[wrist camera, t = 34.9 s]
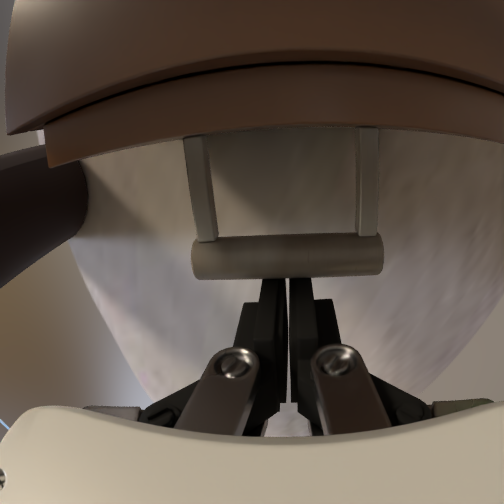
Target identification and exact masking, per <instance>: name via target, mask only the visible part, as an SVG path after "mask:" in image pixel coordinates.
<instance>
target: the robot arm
mask: <svg viewBox="0 0 504 504" xmlns="http://www.w3.org/2000/svg"><path fill="white" fill-rule="evenodd" d="M289 351H290V378H291V403H297V402H298V412H299V413H300V414H301V415H303V416H304V417H305V418H307V419H308V428H309V433H310V436H308V437H264V435H265V432H266V428H267V425H268V419H269V418H270V417H271V416H273V415H274V414H276V413H277V412H280V403H286V394H287V367H288V315H287V298H286V281H285V278H284V279H262V286H261V292H260V298H259V302H249V303H244V304H243V308H242V312H241V316H240V320H239V324H238V328H237V332H236V336H235V340H234V345H233V347H231V348H226V349H224V350H221V351H219V352H218V353H216V354H215V355H214V356H213V357H212V358H211V360H210V361H209V363H208V365H207V367H206V369H205V371H204V373H203V374H202V376H201V378H200V380H198V381H196V382H194V383H192V384H190V385H188V386H187V387H185V388H183V389H181V390H179V391H177V392H175V393H173V394H171V395H169V396H167V397H165V398H163V399H161V400H159V401H157V402H155V403H153V404H152V405H150V406H149V407H147V408H146V409H145V410H141V408H140V407H111V406H87V407H84V408H82V409H81V408H75V407H67V406H42V407H36V408H32V409H30V410H28V411H26V412H25V413H23V414H22V415H21V416H20V417H19V418H18V420H17V421H16V422H15V423H14V424H13V425H12V427H11V428H10V429H9V431H8V432H7V433H6V435H5V437H4V438H3V439H2V441H1V443H0V504H504V401H499V402H494V401H492V400H490V399H484V398H480V399H469V400H455V401H434V402H433V403H432V405H426V403H424V402H423V401H421V400H420V399H418V398H416V397H414V396H412V395H410V394H408V393H406V392H404V391H402V390H400V389H398V388H397V387H395V386H393V385H391V384H389V383H387V382H385V381H383V380H381V379H379V378H377V377H376V376H374V375H372V374H370V373H369V372H368V370H367V368H366V365H365V363H364V361H363V359H362V357H361V355H360V354H359V352H358V351H357V350H355V349H354V348H353V347H351V346H348V345H345V344H341V339H340V334H339V329H338V324H337V319H336V314H335V310H334V305H333V301H332V299H319V300H314V297H313V289H312V282H311V278H289Z"/></svg>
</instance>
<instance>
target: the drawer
mask: <svg viewBox="0 0 504 504" xmlns="http://www.w3.org/2000/svg"><path fill="white" fill-rule="evenodd" d="M403 69H405V68H404V67H398V66H390V65H382V64H373V63H361V62H349V63H348V64H282V65H267V66H255V67H246V68H237V69H230V70H223V71H216V72H210V73H204V74H199V75H194V74H192V73H190V74H185V75H180V76H176V77H172V78H167V79H163V80H159V81H156V82H152V83H148V85H151V86H147V87H143V88H140V89H136V90H133V91H130V92H127V93H123V94H120V95H117V96H114V97H111V98H108V99H106V100H103V101H100V102H97V103H95V104H92V105H89V106H87V107H84V108H82V109H79V110H77V111H74V112H72V113H70V114H67V115H65V116H63V117H61V118H58V119H56V120H54V121H52V122H50V123H48V124H46V125H44V137H45V145H46V153H47V160H48V166H49V168H54V167H57V166H61V165H64V164H68V163H71V162H75V161H78V160H82V159H86V158H90V157H94V156H98V155H102V154H106V153H111V152H115V151H120V150H124V149H129V148H134V147H139V146H145V145H150V144H156V143H162V142H167V141H173V140H179V139H183V144H184V152H185V160H186V168H187V175H188V182H189V189H190V196H191V203H192V210H193V216H194V222H195V229H196V235H197V239H195V241H194V242H193V245H192V250H191V265H192V270H193V273H194V276H195V277H196V278H197V279H199V280H234V279H284V278H318V277H344V276H367V275H378V274H380V273H381V271H382V268H383V263H384V247H383V242H382V238H381V236H380V234H379V233H378V232H377V219H378V197H379V138H378V128H379V129H394V130H407V131H420V132H431V133H440V134H448V135H456V136H463V137H469V138H476V139H481V140H487V141H492V142H497V143H502V144H504V95H502V94H499V93H496V92H493V91H490V90H487V89H484V88H481V87H477V86H474V85H471V84H467V83H463V82H460V81H456V80H452V79H448V78H443V77H439V76H434V75H429V74H424V73H419V72H413V71H407V70H403ZM303 127H355V147H356V220H355V230H356V232H347V233H311V234H281V235H255V236H231V237H218V235H219V232H218V225H217V217H216V210H215V202H214V194H213V186H212V178H211V170H210V161H209V153H208V144H207V136H206V135H213V134H222V133H230V132H240V131H251V130H264V129H279V128H303Z"/></svg>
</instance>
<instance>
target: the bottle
mask: <svg viewBox="0 0 504 504" xmlns="http://www.w3.org/2000/svg"><path fill="white" fill-rule="evenodd" d="M87 198H88V193H87V188H86V182H85V177H84V175H83V172H82V170H81V168H80V165H79V163H78V161H75V162H71V163H68V164H64V165H61V166H57V167H54V168H49V166H48V160H47V153H46V145H45V144H44V145H39V146H35V147H31V148H26V149H22V150H19V151H14V152H11V153H7V154H4V155H0V288H2V287H3V286H4V285H5V284H7V283H8V282H9V281H11V280H12V279H13V278H14V277H16V276H17V275H18V274H20V273H21V272H22V271H23V270H25V269H26V268H28V267H29V266H30V265H32V264H33V263H35V262H36V261H37V260H39V259H40V258H42V257H43V256H45V255H46V254H47V253H49V252H50V251H52V250H53V249H55V248H56V247H58V246H59V245H61V244H62V243H63V242H65V241H67V240H68V239H70V238H71V237H73V236H74V235H76V233H77V232H78V230H79V229H80V227H81V226H82V224H83V223H84V219H85V215H86V212H87Z"/></svg>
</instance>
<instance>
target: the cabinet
mask: <svg viewBox="0 0 504 504" xmlns="http://www.w3.org/2000/svg"><path fill="white" fill-rule="evenodd" d="M285 61H345V62H361V63H373V64H382V65H390V66H398V67H404V68H405V69H403V70H407V71H413V72H419V73H424V74H429V75H434V76H439V77H443V78H448V79H452V80H456V81H460V82H463V83H467V84H471V85H474V86H477V87H481V88H484V89H487V90H490V91H493V92H496V93H499V94H502V95H504V0H15V3H14V8H13V13H12V18H11V24H10V30H9V38H8V46H7V56H6V71H5V116H6V130H7V135H14V134H19V133H24V132H28V131H35V130H41V129H44V125H46V124H48V123H50V122H52V121H54V120H56V119H58V118H61V117H63V116H65V115H67V114H70V113H72V112H74V111H77V110H79V109H82V108H84V107H87V106H89V105H92V104H95V103H97V102H100V101H103V100H106V99H108V98H111V97H114V96H117V95H120V94H123V93H127V92H130V91H133V90H136V89H140V88H143V87H147V86H151V85H148V83H152V82H156V81H159V80H163V79H167V78H172V77H176V76H180V75H185V74H190V73H195V72H200V71H206V70H211V69H218V68H224V67H231V66H239V65H247V64H257V63H269V62H285Z"/></svg>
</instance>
